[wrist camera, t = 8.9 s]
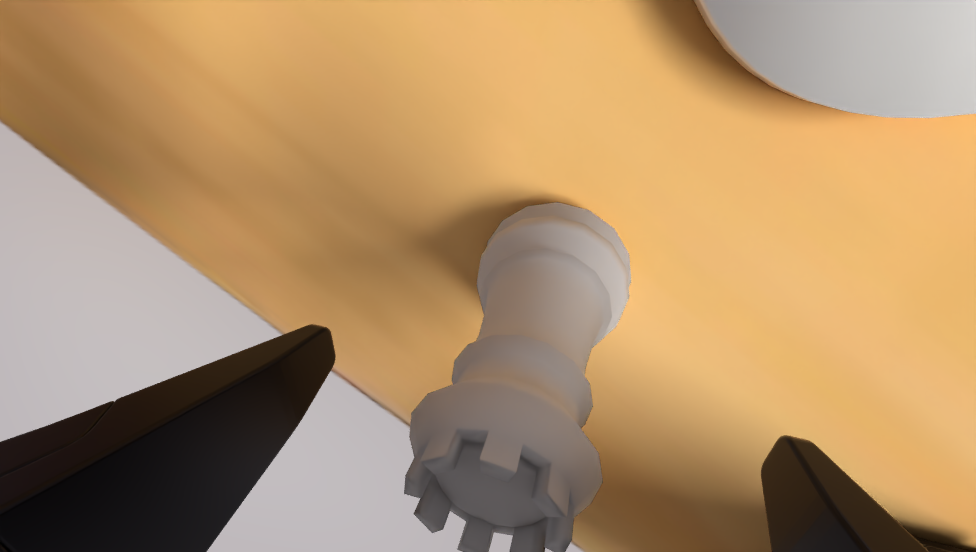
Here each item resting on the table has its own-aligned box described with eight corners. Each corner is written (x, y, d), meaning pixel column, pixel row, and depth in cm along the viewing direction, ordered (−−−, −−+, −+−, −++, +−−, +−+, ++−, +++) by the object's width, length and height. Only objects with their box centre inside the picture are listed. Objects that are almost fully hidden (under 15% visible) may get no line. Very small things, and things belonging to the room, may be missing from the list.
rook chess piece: (469, 288, 14) (328, 512, 7) (518, 171, 11) (375, 342, 5) (587, 345, 14) (556, 632, 7) (662, 238, 11) (731, 521, 4)
